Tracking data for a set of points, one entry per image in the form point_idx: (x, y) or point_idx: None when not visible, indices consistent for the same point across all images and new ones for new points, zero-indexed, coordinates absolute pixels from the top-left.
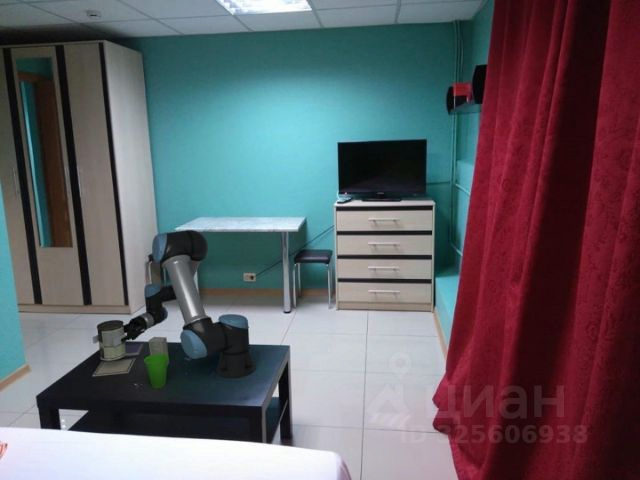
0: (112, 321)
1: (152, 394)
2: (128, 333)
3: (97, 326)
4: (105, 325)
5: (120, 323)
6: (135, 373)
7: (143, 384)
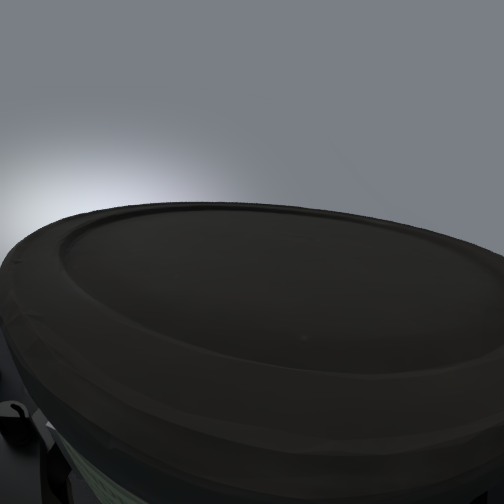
0: (499, 313)
1: (4, 341)
2: (5, 407)
3: (388, 222)
4: (343, 229)
5: (83, 255)
6: (69, 475)
7: (23, 387)
